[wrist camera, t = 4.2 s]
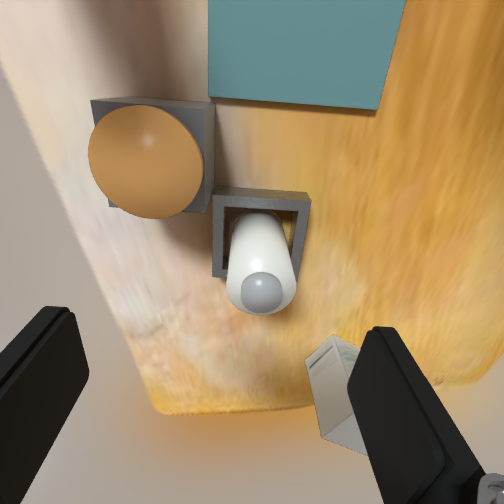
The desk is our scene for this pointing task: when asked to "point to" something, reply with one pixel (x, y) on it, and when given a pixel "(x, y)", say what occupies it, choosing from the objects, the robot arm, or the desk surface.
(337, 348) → the skincare box
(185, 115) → the plunger housing
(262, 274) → the cylinder
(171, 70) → the desk surface
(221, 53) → the pad
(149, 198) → the plunger
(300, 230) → the frame
